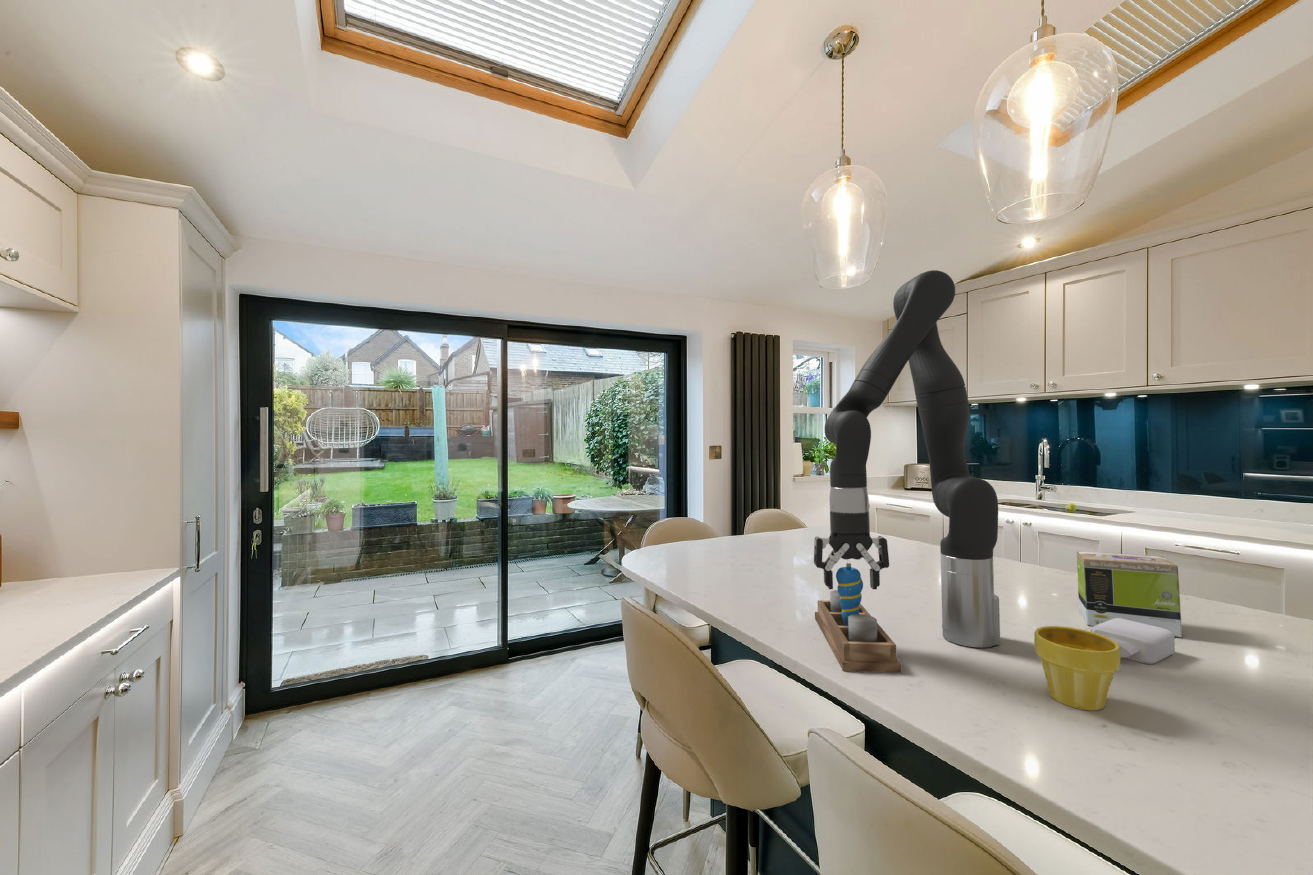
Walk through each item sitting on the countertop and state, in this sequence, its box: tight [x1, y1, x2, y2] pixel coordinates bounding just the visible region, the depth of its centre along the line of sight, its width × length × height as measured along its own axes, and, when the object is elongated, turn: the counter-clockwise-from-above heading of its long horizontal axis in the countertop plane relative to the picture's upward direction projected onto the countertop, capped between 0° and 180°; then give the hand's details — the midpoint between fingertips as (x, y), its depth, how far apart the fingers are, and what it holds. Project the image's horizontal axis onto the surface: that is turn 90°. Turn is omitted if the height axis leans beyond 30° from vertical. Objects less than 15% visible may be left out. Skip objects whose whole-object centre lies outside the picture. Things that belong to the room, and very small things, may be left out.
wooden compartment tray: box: [814, 589, 903, 674], centre depth 104 cm, size 10×27×8 cm, turn 173°
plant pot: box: [1033, 625, 1121, 711], centre depth 80 cm, size 10×10×10 cm
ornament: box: [835, 560, 864, 626], centre depth 104 cm, size 5×5×15 cm
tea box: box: [1076, 550, 1183, 638], centre depth 110 cm, size 15×10×15 cm, turn 58°
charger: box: [1090, 618, 1176, 665], centre depth 95 cm, size 5×9×15 cm
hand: (851, 588), depth 104 cm, fingers open, 8 cm apart
